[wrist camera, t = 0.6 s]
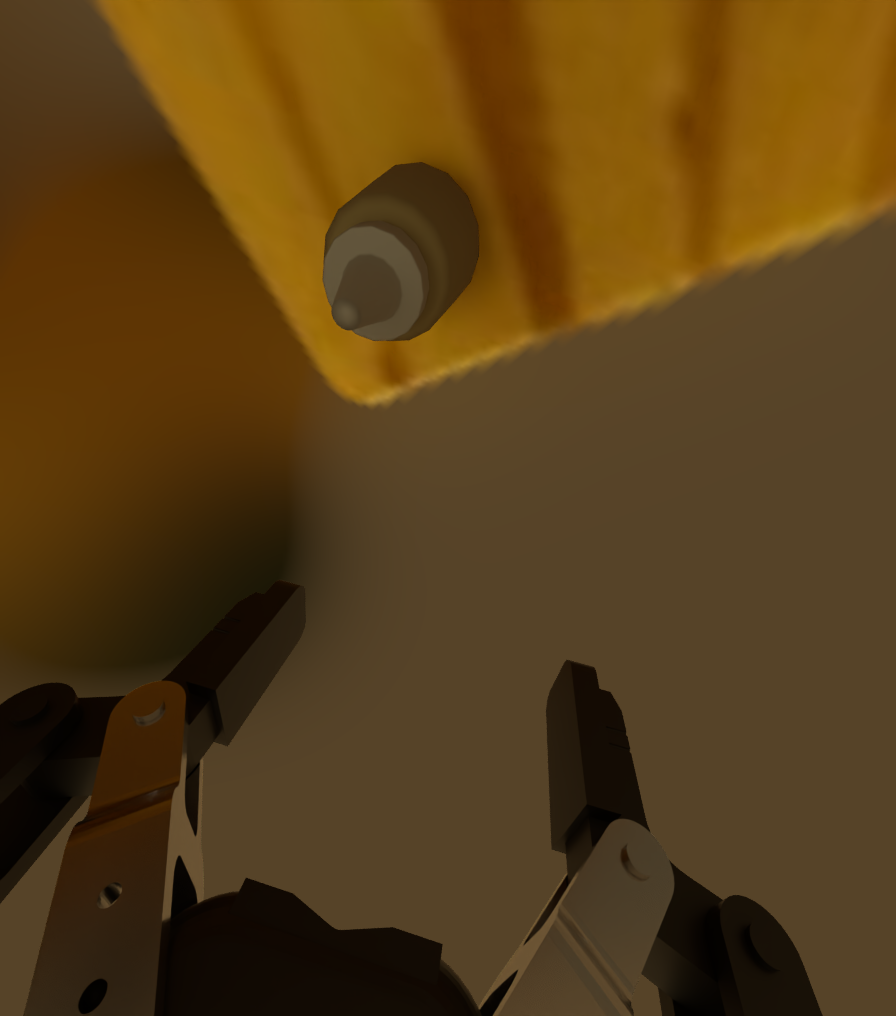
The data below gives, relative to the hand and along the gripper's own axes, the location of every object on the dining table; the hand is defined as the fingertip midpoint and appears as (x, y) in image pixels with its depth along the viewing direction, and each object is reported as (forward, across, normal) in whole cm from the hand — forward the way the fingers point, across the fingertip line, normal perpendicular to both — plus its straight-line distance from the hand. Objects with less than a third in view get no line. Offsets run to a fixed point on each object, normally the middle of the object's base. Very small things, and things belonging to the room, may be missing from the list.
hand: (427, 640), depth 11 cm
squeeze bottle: (+25, +8, -12) cm, 29 cm away
